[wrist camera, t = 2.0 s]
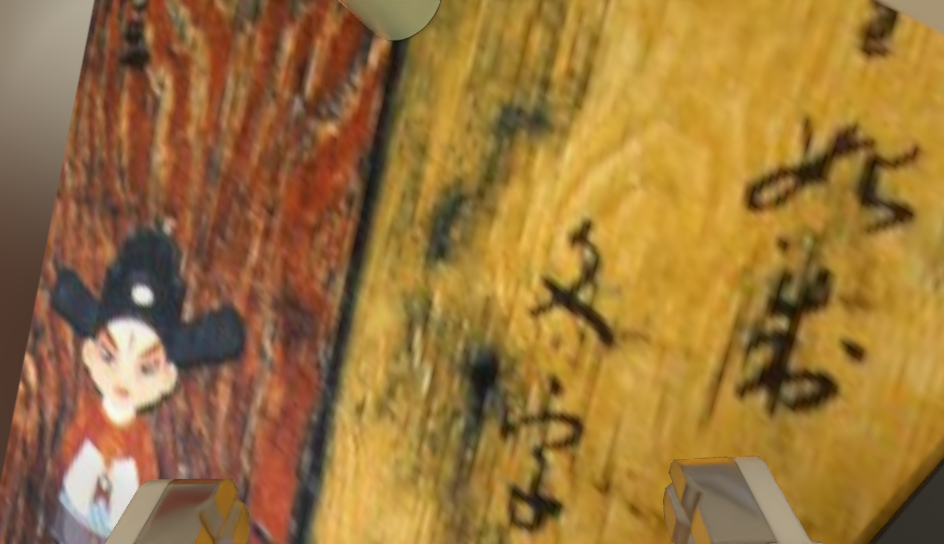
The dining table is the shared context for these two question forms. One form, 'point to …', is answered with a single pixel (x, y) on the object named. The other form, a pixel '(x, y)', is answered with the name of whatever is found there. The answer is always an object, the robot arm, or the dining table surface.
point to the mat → (918, 515)
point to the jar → (393, 16)
